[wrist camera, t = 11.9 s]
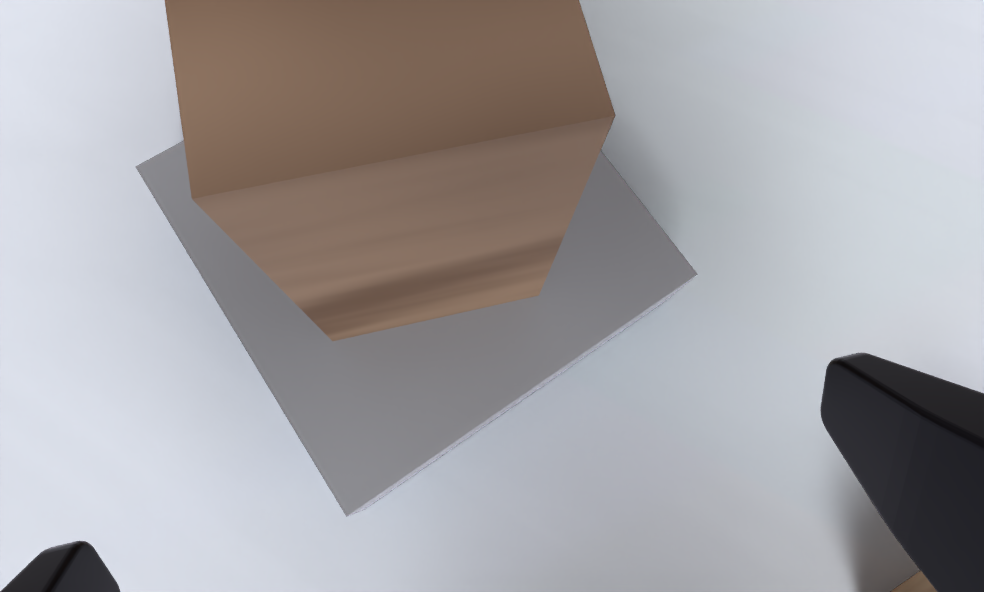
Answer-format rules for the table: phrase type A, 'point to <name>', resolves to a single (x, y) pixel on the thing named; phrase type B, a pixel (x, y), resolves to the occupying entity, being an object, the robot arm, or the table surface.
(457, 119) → the walnut pillar
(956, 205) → the table surface
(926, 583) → the oak cube
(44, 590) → the robot arm
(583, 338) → the slate slab
